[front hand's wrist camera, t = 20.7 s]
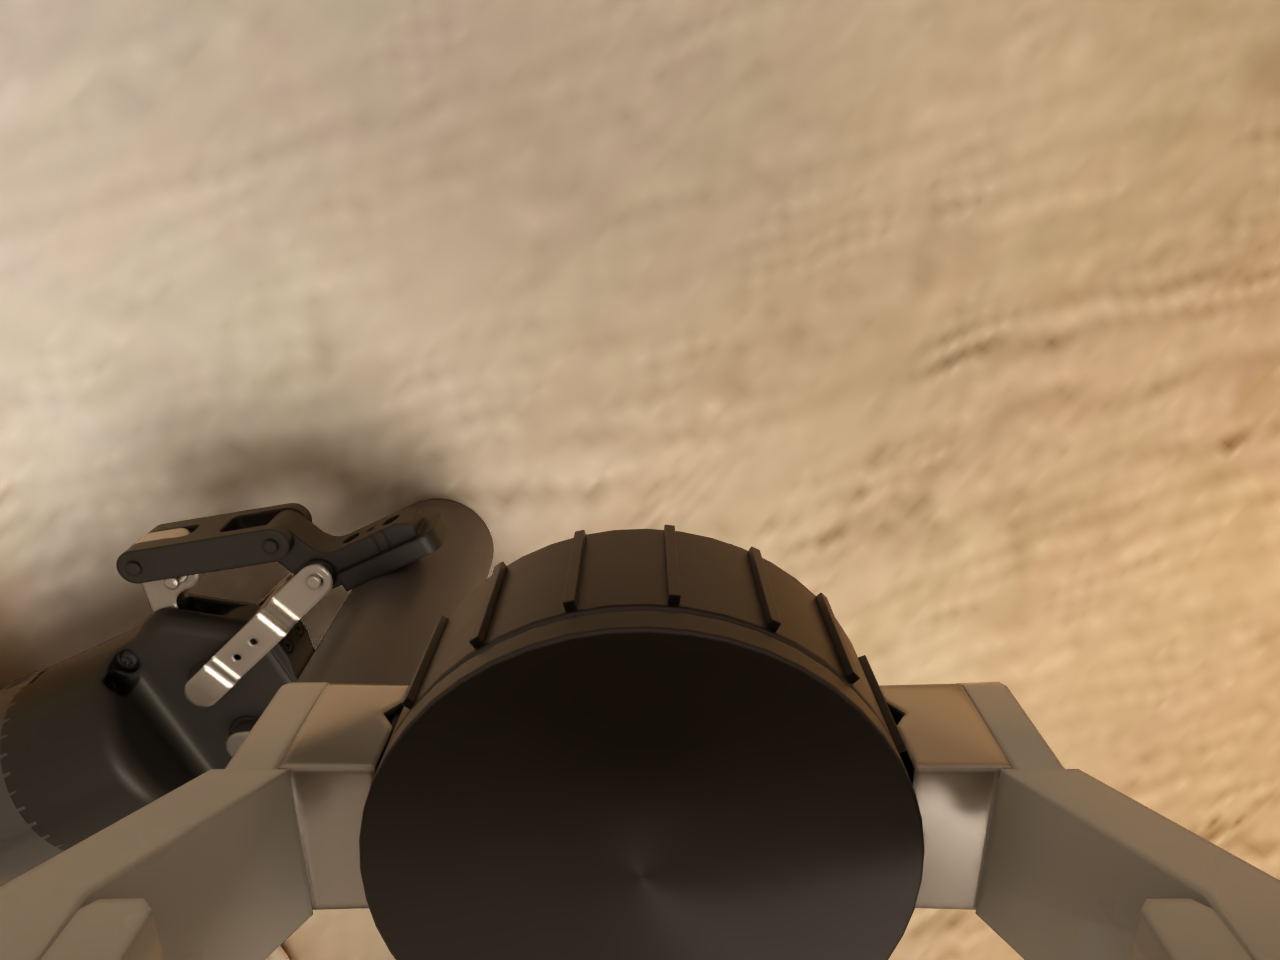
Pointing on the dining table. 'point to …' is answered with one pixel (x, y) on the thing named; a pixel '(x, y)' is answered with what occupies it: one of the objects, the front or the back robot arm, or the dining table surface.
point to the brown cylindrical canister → (404, 606)
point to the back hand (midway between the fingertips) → (473, 588)
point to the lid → (642, 769)
